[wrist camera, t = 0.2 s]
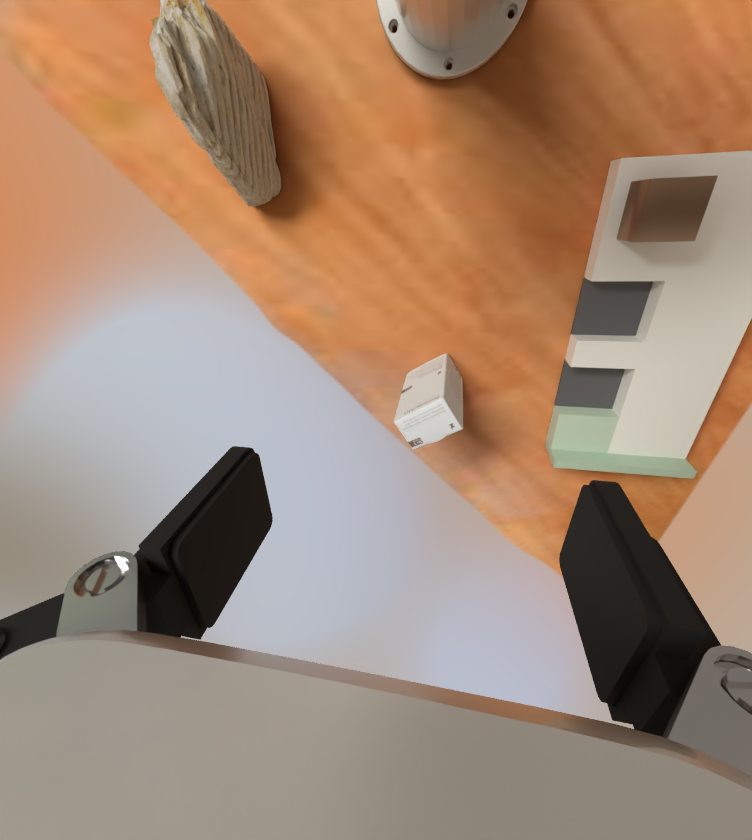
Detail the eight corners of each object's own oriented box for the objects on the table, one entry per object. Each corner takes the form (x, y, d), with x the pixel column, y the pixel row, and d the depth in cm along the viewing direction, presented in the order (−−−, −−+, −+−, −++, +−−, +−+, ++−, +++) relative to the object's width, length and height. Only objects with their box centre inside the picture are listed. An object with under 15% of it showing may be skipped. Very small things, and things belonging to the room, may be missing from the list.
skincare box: (446, 350, 45) (444, 393, 35) (464, 380, 47) (466, 429, 36) (404, 374, 48) (390, 420, 37) (422, 401, 49) (413, 452, 39)
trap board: (610, 161, 34) (633, 154, 29) (806, 150, 31) (862, 141, 27) (545, 444, 49) (553, 467, 45) (671, 453, 46) (693, 478, 42)
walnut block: (631, 181, 32) (651, 178, 29) (689, 178, 31) (718, 175, 28) (616, 238, 34) (633, 242, 31) (670, 237, 33) (694, 241, 30)
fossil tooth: (246, 206, 42) (191, 22, 34) (296, 198, 41) (251, 2, 32) (183, 221, 33) (88, -26, 25) (244, 211, 32) (163, -56, 23)
